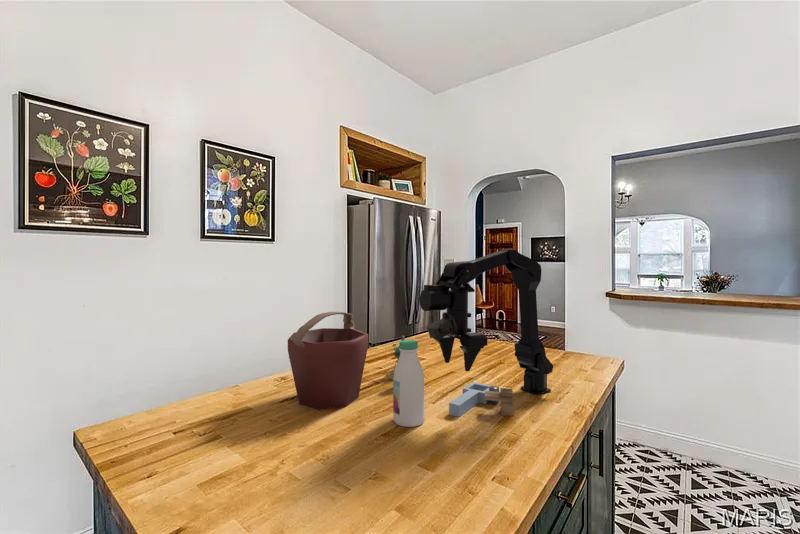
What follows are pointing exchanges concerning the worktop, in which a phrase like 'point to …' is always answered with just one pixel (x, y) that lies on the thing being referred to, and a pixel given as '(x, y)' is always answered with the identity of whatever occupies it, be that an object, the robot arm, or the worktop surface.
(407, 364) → the milk bottle
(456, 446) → the worktop surface
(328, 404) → the bucket
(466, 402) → the link
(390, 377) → the frog figurine
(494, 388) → the pintle
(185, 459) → the worktop surface
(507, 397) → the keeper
